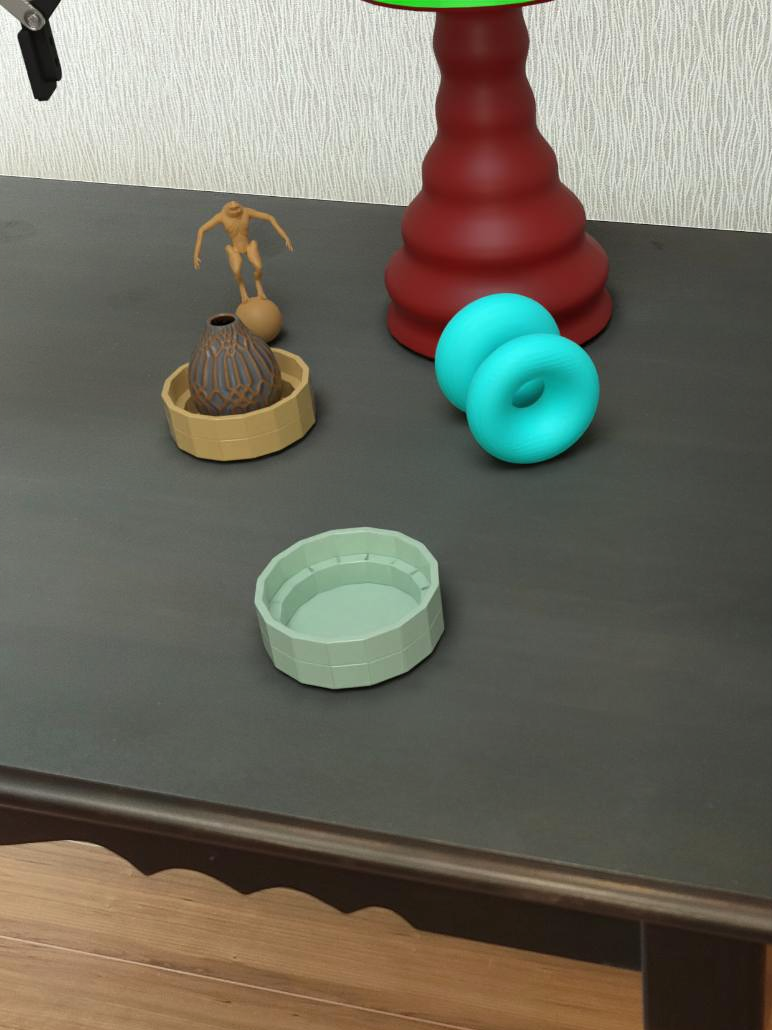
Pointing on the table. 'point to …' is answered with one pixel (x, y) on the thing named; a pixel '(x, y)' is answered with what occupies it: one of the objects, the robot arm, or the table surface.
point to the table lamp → (490, 191)
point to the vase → (232, 369)
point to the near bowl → (350, 607)
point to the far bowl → (242, 416)
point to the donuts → (516, 378)
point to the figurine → (235, 221)
